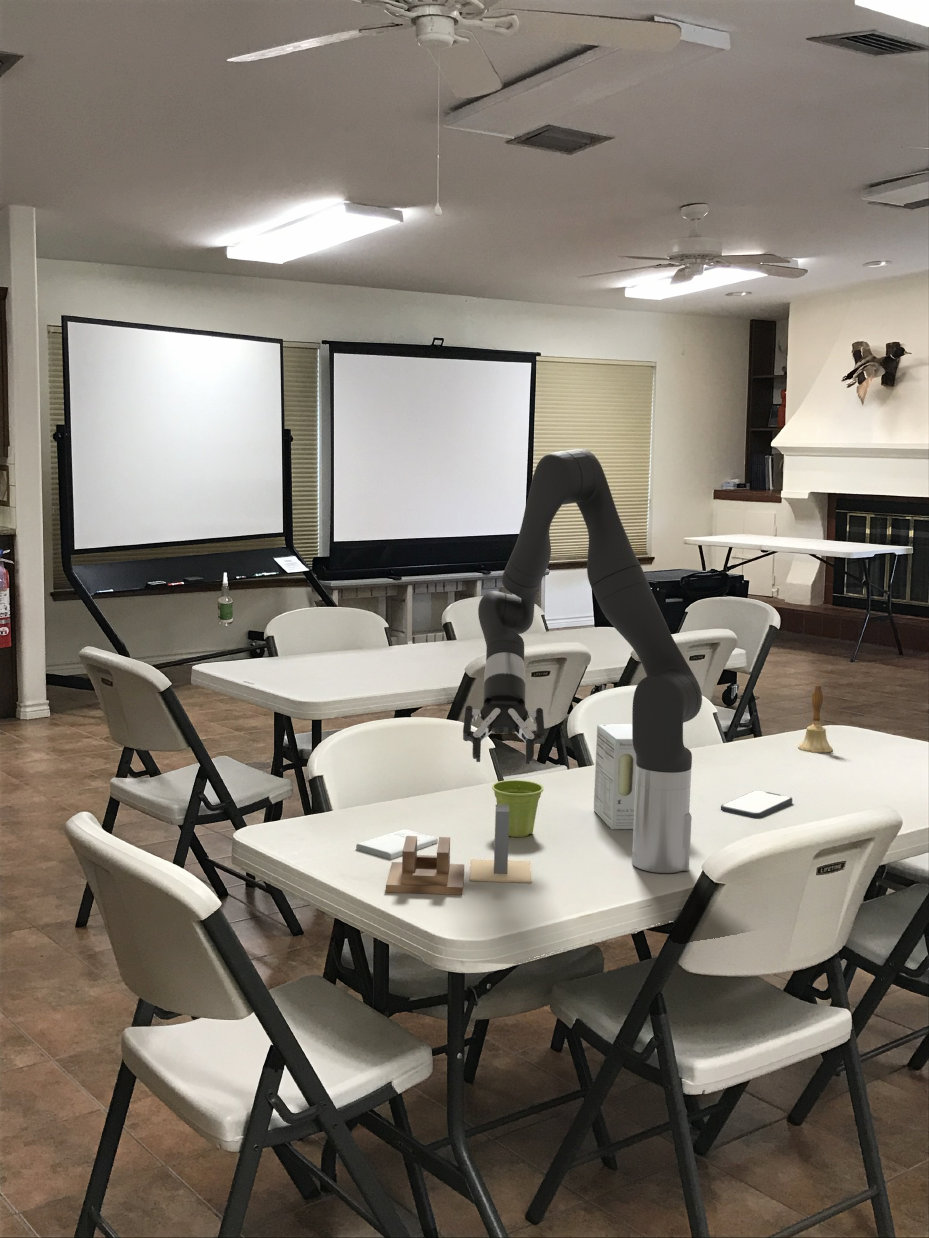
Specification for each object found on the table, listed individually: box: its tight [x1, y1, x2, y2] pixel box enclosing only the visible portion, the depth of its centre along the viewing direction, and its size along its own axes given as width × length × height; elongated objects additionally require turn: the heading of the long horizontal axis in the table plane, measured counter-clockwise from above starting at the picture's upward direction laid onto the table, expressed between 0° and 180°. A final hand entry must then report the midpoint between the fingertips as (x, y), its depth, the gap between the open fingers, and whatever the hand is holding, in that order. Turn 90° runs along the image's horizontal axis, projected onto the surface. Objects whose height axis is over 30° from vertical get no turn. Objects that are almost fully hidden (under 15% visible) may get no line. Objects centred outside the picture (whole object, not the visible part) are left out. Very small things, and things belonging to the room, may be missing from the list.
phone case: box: [720, 789, 793, 819], centre depth 241 cm, size 9×2×16 cm
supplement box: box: [593, 723, 636, 831], centre depth 228 cm, size 13×13×18 cm
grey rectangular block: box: [493, 804, 510, 874], centre depth 196 cm, size 2×4×10 cm, turn 179°
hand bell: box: [797, 684, 834, 754], centre depth 293 cm, size 8×8×16 cm
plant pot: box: [491, 779, 544, 838], centre depth 218 cm, size 9×9×9 cm
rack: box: [385, 836, 465, 896], centre depth 191 cm, size 12×11×6 cm
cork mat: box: [469, 858, 533, 884], centre depth 197 cm, size 10×10×1 cm
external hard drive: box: [355, 828, 439, 860], centre depth 209 cm, size 2×8×12 cm
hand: (503, 760), depth 206 cm, fingers open, 8 cm apart
